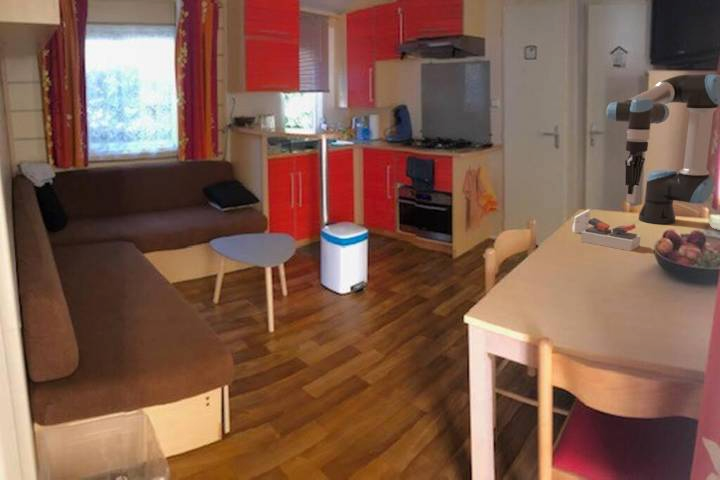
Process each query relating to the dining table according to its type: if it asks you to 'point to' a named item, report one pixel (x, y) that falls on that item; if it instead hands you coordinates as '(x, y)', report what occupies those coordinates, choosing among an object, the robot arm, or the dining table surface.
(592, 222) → the rocker
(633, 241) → the power strip
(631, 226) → the rocker
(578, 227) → the white wedge bracket
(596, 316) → the dining table surface
